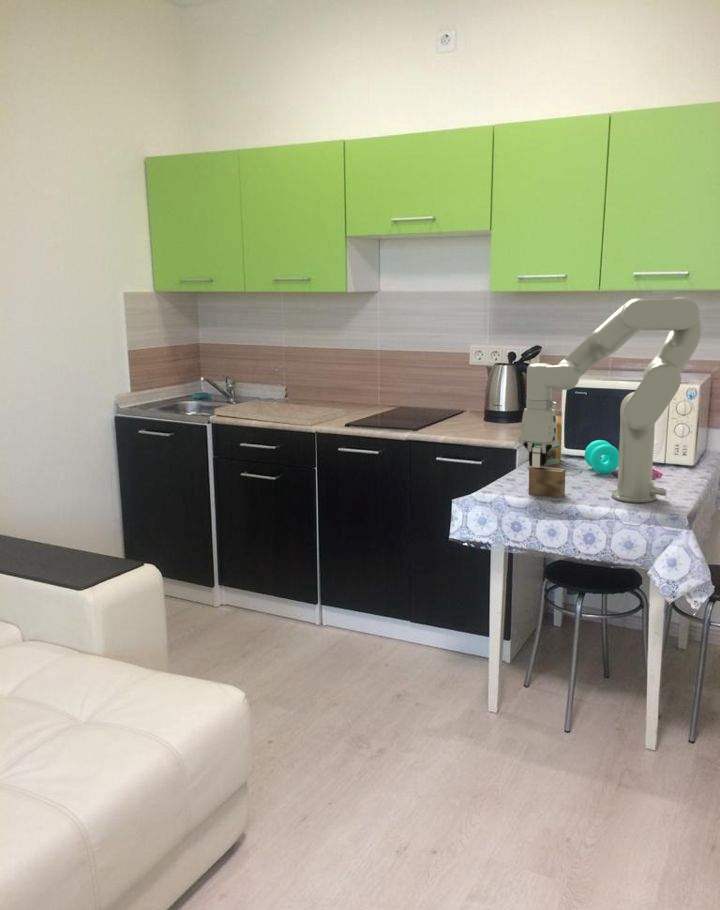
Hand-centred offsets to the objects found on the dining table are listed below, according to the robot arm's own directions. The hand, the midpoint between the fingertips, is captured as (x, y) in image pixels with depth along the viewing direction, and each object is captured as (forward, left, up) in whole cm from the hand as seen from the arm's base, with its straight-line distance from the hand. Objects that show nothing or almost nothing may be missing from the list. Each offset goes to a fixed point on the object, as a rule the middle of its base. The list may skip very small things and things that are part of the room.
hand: (537, 464), depth 242 cm
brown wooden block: (-3, 0, -9) cm, 10 cm away
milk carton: (+11, -40, -9) cm, 43 cm away
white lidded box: (0, 0, -1) cm, 1 cm away
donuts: (-10, -36, -9) cm, 39 cm away
